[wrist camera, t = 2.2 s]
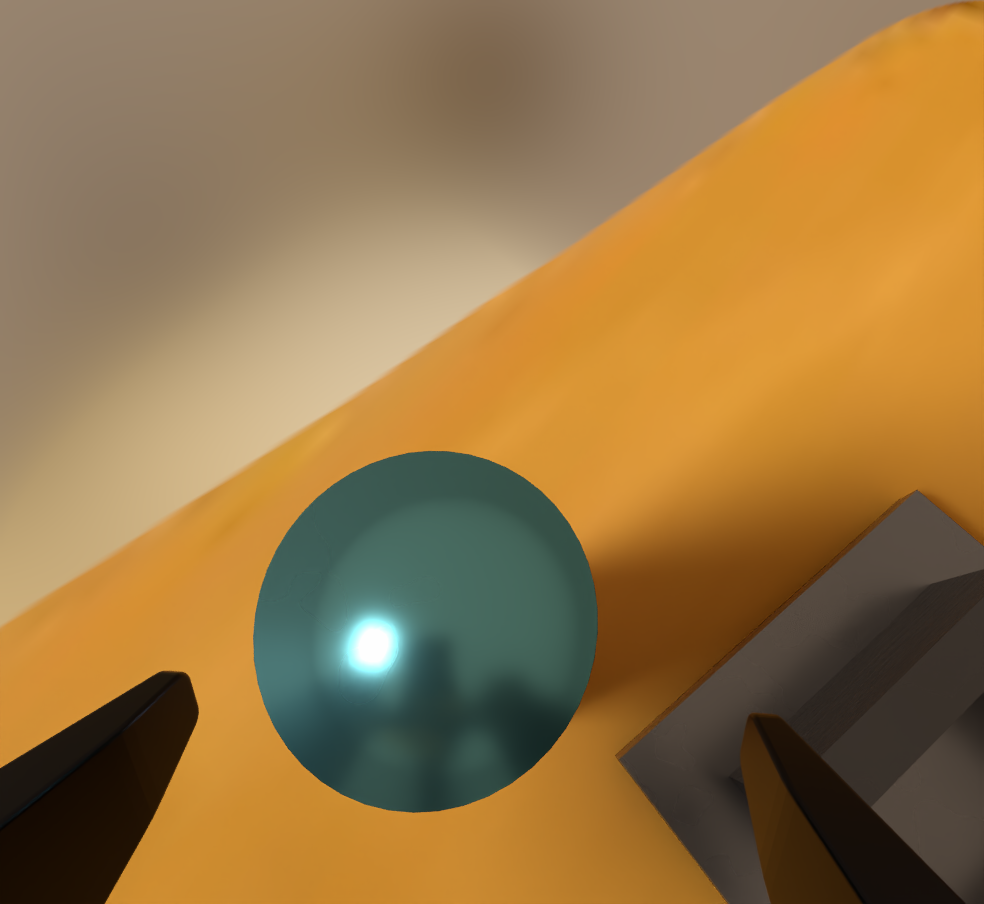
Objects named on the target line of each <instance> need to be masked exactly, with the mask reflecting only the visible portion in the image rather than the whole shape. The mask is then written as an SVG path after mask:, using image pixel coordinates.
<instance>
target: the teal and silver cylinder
mask: <svg viewBox="0 0 984 904" xmlns="http://www.w3.org/2000/svg"><path fill="white" fill-rule="evenodd" d="M597 634H598V619H597V602H596V594H595V587H594V582H593V579H592V575H591V571H590V567H589V564H588V561H587V559H586V556H585V554H584V551H583V549H582V546H581V544H580V542H579V540H578V538H577V537H576V535H575V533H574V531H573V530H572V528H571V526H570V524H569V523H568V521H567V520H566V519H565V517H564V516H563V515H562V514H561V512H560V511H559V510H558V508H557V507H556V506H555V505H554V504H553V503H552V502H551V501H550V500H549V499H548V498H547V497H546V496H545V495H544V494H543V493H542V492H541V491H540V490H539V489H538V488H536V487H535V486H534V485H533V484H531V483H530V482H529V481H527V480H526V479H525V478H523V477H522V476H520V475H518V474H516V473H515V472H513V471H511V470H510V469H508V468H506V467H504V466H501V465H499V464H497V463H494V462H492V461H490V460H487V459H483V458H480V457H476V456H472V455H469V454H462V453H455V452H448V451H424V452H414V453H407V454H402V455H398V456H393V457H389V458H386V459H383V460H380V461H377V462H374V463H372V464H369V465H367V466H365V467H363V468H361V469H359V470H357V471H355V472H353V473H351V474H349V475H348V476H346V477H344V478H343V479H341V480H340V481H338V482H337V483H335V484H333V485H332V486H331V487H330V488H328V489H327V490H326V491H325V492H324V493H322V494H321V495H320V496H319V497H317V498H316V499H315V500H314V501H313V502H312V503H311V504H310V505H309V506H308V507H307V508H306V510H305V511H304V512H303V513H302V514H301V515H300V516H299V517H298V519H297V520H296V521H295V523H294V524H293V525H292V526H291V528H290V529H289V530H288V532H287V533H286V535H285V537H284V538H283V540H282V542H281V543H280V545H279V546H278V548H277V550H276V552H275V554H274V556H273V558H272V561H271V563H270V565H269V567H268V569H267V572H266V575H265V578H264V581H263V584H262V587H261V590H260V594H259V599H258V603H257V608H256V613H255V623H254V635H253V641H254V662H255V668H256V674H257V680H258V685H259V688H260V692H261V695H262V698H263V702H264V705H265V707H266V710H267V712H268V714H269V716H270V718H271V721H272V723H273V725H274V727H275V729H276V730H277V732H278V734H279V735H280V737H281V738H282V740H283V741H284V743H285V745H286V746H287V748H288V749H289V750H290V751H291V752H292V754H293V755H294V756H295V757H296V758H297V759H298V760H299V762H300V763H301V764H302V765H303V766H304V767H305V768H306V769H307V770H309V771H310V772H311V773H312V774H313V775H314V776H316V777H317V778H318V779H319V780H320V781H321V782H323V783H324V784H326V785H328V786H329V787H331V788H332V789H334V790H336V791H337V792H339V793H340V794H342V795H344V796H347V797H349V798H351V799H354V800H356V801H358V802H361V803H363V804H366V805H370V806H374V807H378V808H382V809H386V810H391V811H402V812H413V813H415V812H431V811H441V810H446V809H451V808H455V807H460V806H464V805H467V804H469V803H472V802H475V801H477V800H480V799H483V798H485V797H488V796H490V795H492V794H493V793H495V792H497V791H499V790H501V789H502V788H504V787H506V786H508V785H510V784H511V783H513V782H514V781H515V780H516V779H518V778H519V777H520V776H522V775H523V774H524V773H526V772H527V771H528V770H530V769H531V768H532V767H533V766H534V765H535V764H536V763H537V762H538V761H539V760H540V759H541V758H542V757H543V756H544V755H545V754H546V753H547V752H548V751H549V750H550V749H551V748H552V746H553V745H554V744H555V742H556V741H557V740H558V738H559V737H560V736H561V734H562V733H563V732H564V730H565V729H566V727H567V726H568V724H569V722H570V720H571V719H572V717H573V715H574V713H575V711H576V710H577V708H578V706H579V704H580V701H581V699H582V696H583V694H584V691H585V689H586V686H587V684H588V681H589V677H590V673H591V669H592V665H593V662H594V658H595V650H596V642H597Z"/></svg>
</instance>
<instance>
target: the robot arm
mask: <svg viewBox="0 0 984 904" xmlns="http://www.w3.org/2000/svg"><path fill="white" fill-rule="evenodd" d="M198 714H199V708H198V704H197V700H196V697H195V694H194V690H193V687H192V683H191V680H190V677H189V676H188V675H187V674H186V673H184V672H177V671H161V672H159V673H157V674H155V675H153V676H152V677H150V678H148V679H147V680H145V681H143V682H142V683H140V684H138V685H137V686H135V687H133V688H132V689H130V690H129V691H127V692H125V693H124V694H122V695H120V696H119V697H117V698H115V699H114V700H112V701H110V702H109V703H107V704H105V705H104V706H102V707H100V708H99V709H97V710H96V711H94V712H92V713H91V714H89V715H87V716H86V717H84V718H82V719H81V720H79V721H77V722H76V723H74V724H72V725H71V726H69V727H67V728H66V729H64V730H62V731H61V732H59V733H58V734H56V735H54V736H53V737H51V738H49V739H48V740H46V741H44V742H43V743H41V744H39V745H38V746H36V747H34V748H33V749H31V750H29V751H28V752H26V753H25V754H23V755H21V756H20V757H18V758H16V759H15V760H13V761H11V762H10V763H8V764H6V765H5V766H3V767H1V768H0V904H105V902H106V901H107V899H108V897H109V895H110V894H111V892H112V890H113V888H114V887H115V885H116V883H117V881H118V879H119V878H120V876H121V874H122V872H123V871H124V869H125V867H126V865H127V864H128V862H129V860H130V858H131V856H132V855H133V853H134V851H135V849H136V848H137V846H138V844H139V842H140V841H141V839H142V837H143V835H144V833H145V832H146V830H147V828H148V826H149V824H150V822H151V820H152V819H153V817H154V815H155V813H156V811H157V809H158V806H159V804H160V802H161V800H162V798H163V796H164V794H165V791H166V789H167V787H168V785H169V783H170V780H171V778H172V776H173V774H174V772H175V769H176V767H177V765H178V763H179V761H180V758H181V756H182V754H183V752H184V750H185V747H186V745H187V743H188V741H189V739H190V736H191V734H192V732H193V730H194V728H195V725H196V723H197V719H198ZM740 764H741V770H742V775H743V780H744V785H745V790H746V795H747V800H748V805H749V810H750V815H751V820H752V825H753V830H754V835H755V840H756V845H757V850H758V855H759V860H760V865H761V869H762V874H763V878H764V882H765V885H766V889H767V893H768V896H769V900H770V903H771V904H966V903H965V902H964V901H963V900H962V899H961V898H960V897H959V896H958V895H957V894H956V893H955V892H954V891H953V890H952V889H951V888H950V887H949V886H948V885H947V884H946V883H945V882H944V881H943V880H942V879H941V878H940V877H939V876H938V875H937V874H936V873H935V872H934V871H933V870H932V869H931V868H930V867H929V866H928V865H927V864H926V863H925V862H924V861H923V860H922V859H921V858H920V857H919V856H918V855H917V854H916V853H915V852H914V850H913V849H912V848H911V847H910V846H909V845H908V844H907V843H906V842H905V841H904V840H903V839H902V838H901V837H900V836H899V835H898V834H897V833H896V832H895V831H894V830H893V829H892V828H891V827H890V826H889V825H888V824H887V823H886V822H885V821H884V820H883V819H882V818H881V817H880V816H879V815H878V814H877V813H876V812H875V811H874V810H873V809H872V808H871V807H870V806H869V805H868V804H867V803H866V802H865V801H864V800H863V799H862V798H861V797H860V796H859V795H858V794H857V793H856V792H855V791H854V790H853V789H852V788H851V787H850V786H849V785H848V784H847V783H846V782H845V781H844V780H843V779H842V778H841V777H840V776H839V775H838V774H837V773H836V772H835V771H834V770H833V769H832V768H831V767H830V766H829V765H828V764H827V763H826V762H825V761H824V760H823V759H822V758H821V757H820V756H819V755H818V754H817V753H816V752H815V751H814V749H813V748H812V747H811V746H810V745H809V744H808V743H807V742H806V741H805V740H804V739H803V738H802V737H801V736H800V735H799V734H798V733H797V732H796V731H795V730H794V729H793V728H792V727H791V726H790V725H789V724H788V723H787V722H786V721H785V720H784V719H783V718H782V717H780V716H778V715H776V714H768V713H751V714H749V716H748V718H747V721H746V726H745V731H744V735H743V740H742V745H741V750H740Z"/></svg>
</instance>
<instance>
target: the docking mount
mask: <svg viewBox="0 0 984 904" xmlns="http://www.w3.org/2000/svg"><path fill="white" fill-rule="evenodd" d="M751 713H768V714H776V715H778V716H780V717H782V718H783V719H784V720H785V721H786V722H787V723H788V724H789V725H790V726H791V727H792V728H793V729H794V730H795V731H796V732H797V733H798V734H799V735H800V736H801V737H802V738H803V739H804V740H805V741H806V742H807V743H808V744H809V745H810V746H811V747H812V748H813V749H814V751H815V752H816V753H817V754H818V755H819V756H820V757H821V758H822V759H823V760H824V761H825V762H826V763H827V764H828V765H829V766H830V767H831V768H832V769H833V770H834V771H835V772H836V773H837V774H838V775H839V776H840V777H841V778H842V779H843V780H844V781H845V782H846V783H847V784H848V785H849V786H850V787H851V788H852V789H853V790H854V791H855V792H856V793H857V794H858V795H859V796H860V797H861V798H862V799H863V800H864V801H865V802H866V803H867V804H868V805H869V806H870V807H871V808H872V809H873V810H874V811H875V812H876V813H877V814H878V815H879V816H880V817H881V818H882V819H883V820H884V821H885V822H886V823H887V824H888V825H889V826H890V827H891V828H892V829H893V830H894V831H895V832H896V833H897V834H898V835H899V836H900V837H901V838H902V839H903V840H904V841H905V842H906V843H907V844H908V845H909V846H910V847H911V848H912V849H913V850H914V852H915V853H916V854H917V855H918V856H919V857H920V858H921V859H922V860H923V861H924V862H925V863H926V864H927V865H928V866H929V867H930V868H931V869H932V870H933V871H934V872H935V873H936V874H937V875H938V876H939V877H940V878H941V879H942V880H943V881H944V882H945V883H946V884H947V885H948V886H949V887H950V888H951V889H952V890H953V891H954V892H955V893H956V894H957V895H958V896H959V897H960V898H961V899H962V900H963V901H964V902H965V903H966V904H984V546H983V545H981V544H980V543H979V542H978V541H977V540H976V539H974V538H973V537H972V536H971V535H970V534H968V533H967V532H966V531H965V530H964V529H963V528H961V527H960V526H959V525H958V524H957V523H955V522H954V521H953V520H952V519H951V518H950V517H948V516H947V515H946V514H945V513H944V512H942V511H941V510H940V509H939V508H938V507H937V506H935V505H934V504H933V503H932V502H931V501H930V500H928V499H927V498H926V497H925V496H924V495H922V494H921V493H920V492H919V491H918V490H916V491H914V492H912V493H911V494H909V495H907V496H905V497H903V498H901V499H899V500H898V501H897V502H896V503H895V504H894V505H893V506H891V507H890V508H889V509H888V510H887V511H886V512H885V513H884V514H883V515H881V516H880V517H879V518H878V519H877V520H876V521H875V522H874V523H873V524H871V525H870V526H869V527H868V528H867V529H866V530H865V531H864V532H863V533H861V534H860V535H859V536H858V537H857V538H856V539H855V540H854V541H853V542H851V543H850V544H849V545H848V546H847V547H846V548H845V549H844V550H843V551H842V552H840V553H839V554H838V555H837V556H836V557H835V558H834V559H833V560H832V561H830V562H829V563H828V564H827V565H826V566H825V567H824V568H823V569H822V570H820V571H819V572H818V573H817V574H816V575H815V576H814V577H813V578H812V579H810V580H809V581H808V582H807V583H806V584H805V585H804V586H803V587H802V588H800V589H799V590H798V591H797V592H796V593H795V594H794V595H793V596H792V597H790V598H789V599H788V600H787V601H786V602H785V603H784V604H783V605H782V606H781V607H779V608H778V609H777V610H776V611H775V612H774V613H773V614H772V615H771V616H769V617H768V618H767V619H766V620H765V621H764V622H763V623H762V624H761V625H759V626H758V627H757V628H756V629H755V630H754V631H753V632H752V633H751V634H749V635H748V636H747V637H746V638H745V639H744V640H743V641H742V642H741V643H739V644H738V645H737V646H736V647H735V648H734V649H733V650H732V651H731V652H729V653H728V654H727V655H726V656H725V657H724V658H723V659H722V660H721V661H720V662H718V663H717V664H716V665H715V666H714V667H713V668H712V669H711V670H710V671H708V672H707V673H706V674H705V675H704V676H703V677H702V678H701V679H700V680H698V681H697V682H696V683H695V684H694V685H693V686H692V687H691V688H690V689H688V690H687V691H686V692H685V693H684V694H683V695H682V696H681V697H680V698H678V699H677V700H676V701H675V702H674V703H673V704H672V705H671V706H670V707H668V708H667V709H666V710H665V711H664V712H663V713H662V714H661V715H660V716H659V717H657V718H656V719H655V720H654V721H653V722H652V723H651V724H650V725H649V726H647V727H646V728H645V729H644V730H643V731H642V732H641V733H640V734H639V735H637V736H636V737H635V738H634V739H633V740H632V741H631V742H630V743H629V744H627V745H626V746H625V747H624V748H623V749H622V750H621V751H620V752H619V753H617V754H616V755H615V756H616V758H617V759H618V760H619V762H620V763H621V764H622V766H623V767H624V768H625V769H626V771H627V772H628V773H629V775H630V776H631V777H632V779H633V780H634V781H635V783H636V784H637V785H638V786H639V788H640V789H641V790H642V792H643V793H644V794H645V796H646V797H647V798H648V800H649V801H650V802H651V804H652V805H653V806H654V807H655V809H656V810H657V811H658V813H659V814H660V815H661V817H662V818H663V819H664V821H665V822H666V823H667V825H668V826H669V827H670V828H671V830H672V831H673V832H674V834H675V835H676V836H677V838H678V839H679V840H680V842H681V843H682V844H683V846H684V847H685V848H686V849H687V851H688V852H689V853H690V855H691V856H692V857H693V859H694V860H695V861H696V863H697V864H698V865H699V866H700V868H701V869H702V870H703V872H704V873H705V874H706V876H707V877H708V878H709V880H710V881H711V882H712V884H713V885H714V886H715V887H716V889H717V890H718V891H719V893H720V894H721V895H722V897H723V898H724V899H725V901H726V902H727V903H728V904H771V903H770V900H769V896H768V893H767V889H766V885H765V882H764V878H763V874H762V869H761V865H760V860H759V855H758V850H757V845H756V840H755V835H754V830H753V825H752V820H751V815H750V810H749V805H748V800H747V795H746V790H745V785H744V780H743V775H742V770H741V764H740V750H741V745H742V740H743V735H744V731H745V726H746V721H747V718H748V716H749V714H751Z"/></svg>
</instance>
